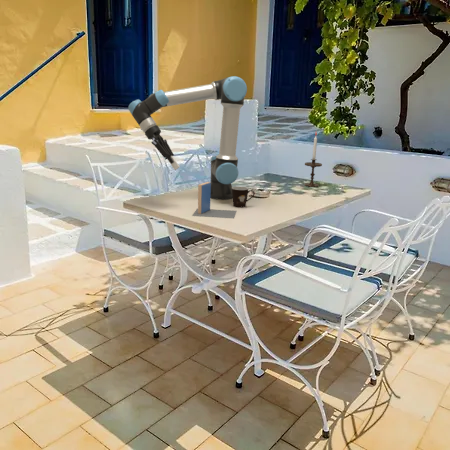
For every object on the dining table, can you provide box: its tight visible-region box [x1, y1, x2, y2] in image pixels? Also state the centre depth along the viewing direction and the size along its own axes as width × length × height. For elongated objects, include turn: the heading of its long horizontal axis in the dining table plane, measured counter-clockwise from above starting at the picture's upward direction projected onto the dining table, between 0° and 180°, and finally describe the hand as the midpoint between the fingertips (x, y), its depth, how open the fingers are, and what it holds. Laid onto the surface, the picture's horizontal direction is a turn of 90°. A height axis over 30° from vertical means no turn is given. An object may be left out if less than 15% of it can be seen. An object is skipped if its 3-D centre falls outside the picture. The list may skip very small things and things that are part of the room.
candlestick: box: [304, 131, 323, 188], centre depth 298 cm, size 11×11×35 cm
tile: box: [197, 181, 211, 214], centre depth 227 cm, size 9×2×14 cm, turn 154°
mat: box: [191, 208, 237, 219], centre depth 226 cm, size 14×20×1 cm
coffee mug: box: [231, 186, 255, 209], centre depth 240 cm, size 12×9×10 cm
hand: (177, 168), depth 230 cm, fingers closed
